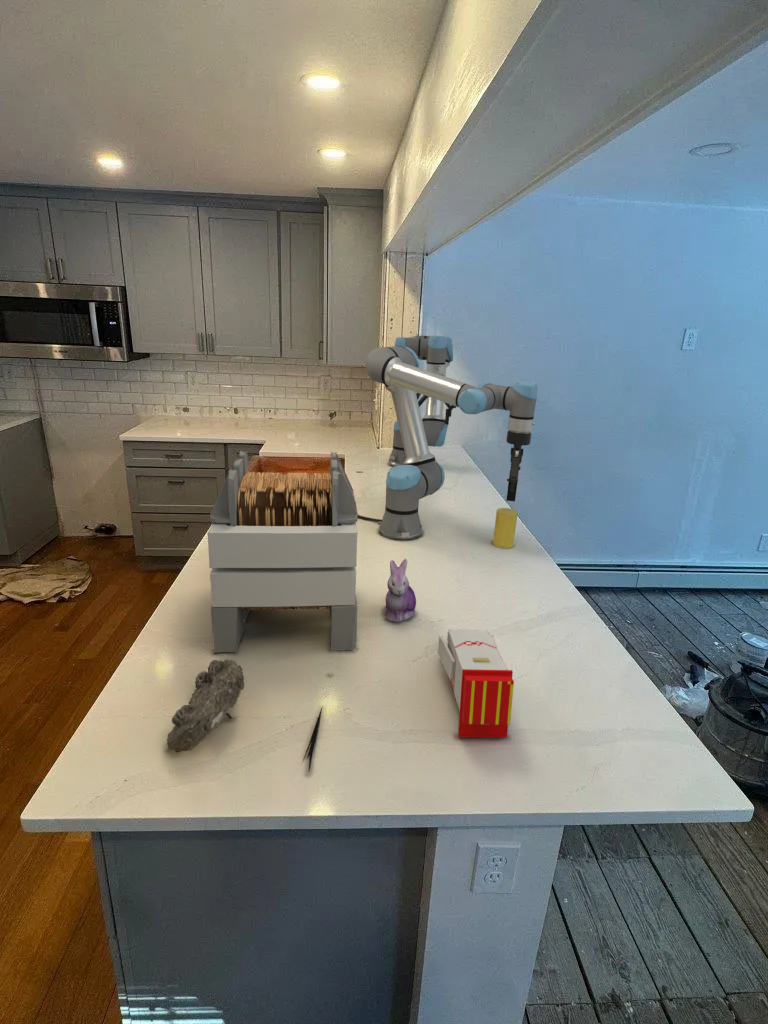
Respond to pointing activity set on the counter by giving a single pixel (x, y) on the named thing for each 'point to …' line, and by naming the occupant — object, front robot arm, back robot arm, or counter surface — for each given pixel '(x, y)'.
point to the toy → (478, 682)
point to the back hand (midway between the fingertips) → (431, 424)
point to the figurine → (399, 594)
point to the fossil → (206, 705)
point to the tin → (505, 527)
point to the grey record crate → (283, 549)
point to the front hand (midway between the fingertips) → (511, 494)
